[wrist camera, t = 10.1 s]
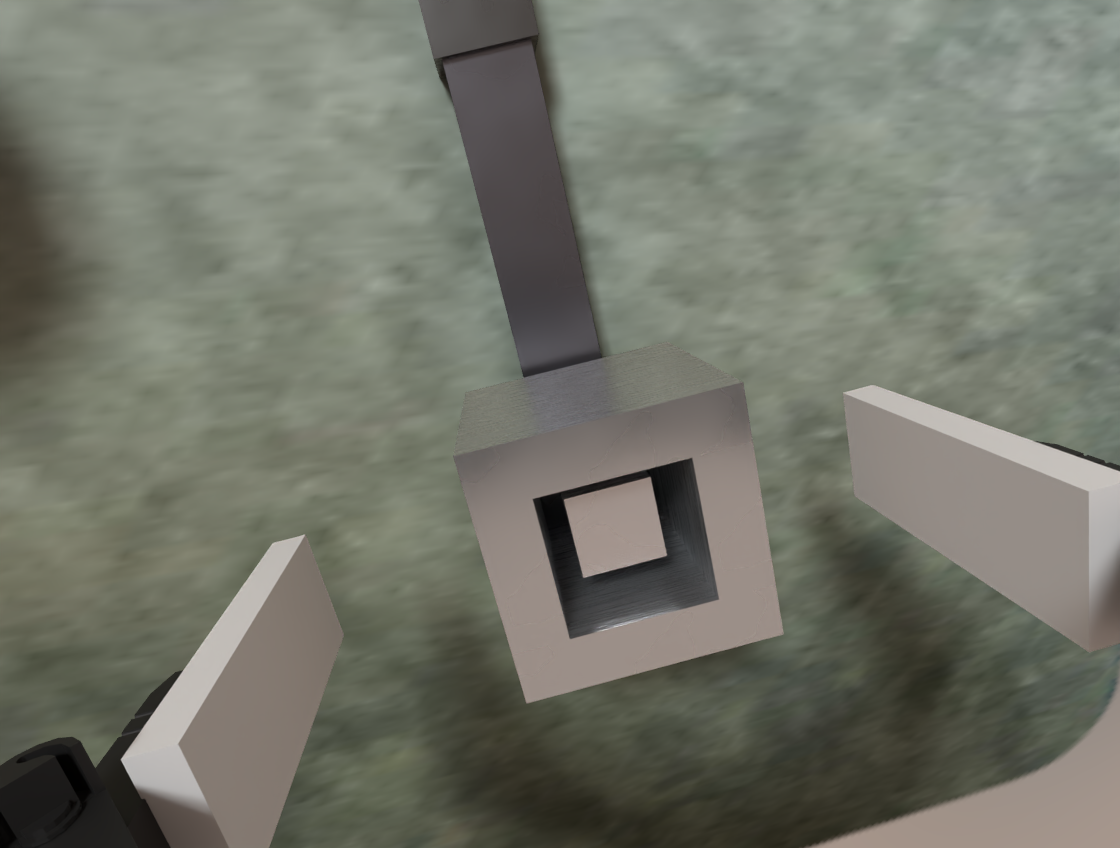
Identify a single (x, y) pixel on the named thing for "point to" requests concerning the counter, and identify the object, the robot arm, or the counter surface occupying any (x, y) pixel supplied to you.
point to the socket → (604, 453)
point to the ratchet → (534, 245)
